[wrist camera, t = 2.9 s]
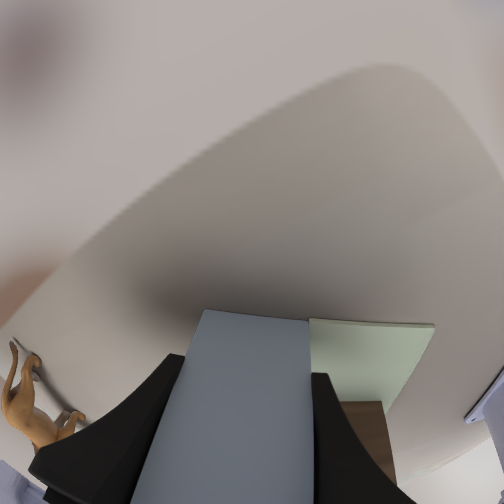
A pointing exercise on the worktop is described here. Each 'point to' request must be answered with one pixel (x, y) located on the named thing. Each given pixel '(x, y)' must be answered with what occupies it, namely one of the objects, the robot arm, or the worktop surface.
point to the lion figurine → (25, 414)
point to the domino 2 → (372, 432)
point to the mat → (367, 356)
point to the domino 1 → (236, 418)
